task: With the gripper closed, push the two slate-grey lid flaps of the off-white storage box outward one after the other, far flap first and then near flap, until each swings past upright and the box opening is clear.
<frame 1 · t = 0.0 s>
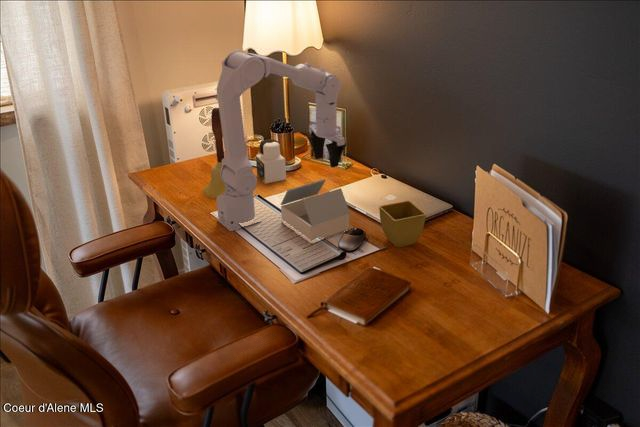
hand: (326, 162, 169), 10 cm above the table, tool pointing down, fingers open, 7 cm apart
handbell: (223, 190, 178), on the table
flower pot: (400, 242, 148), on the table
near flap: (326, 206, 148), point 8 cm above the table, hinge at 55.0°
storage box: (315, 226, 156), on the table
medicine bottle: (271, 178, 185), on the table
far flap: (303, 192, 156), point 8 cm above the table, hinge at 55.0°
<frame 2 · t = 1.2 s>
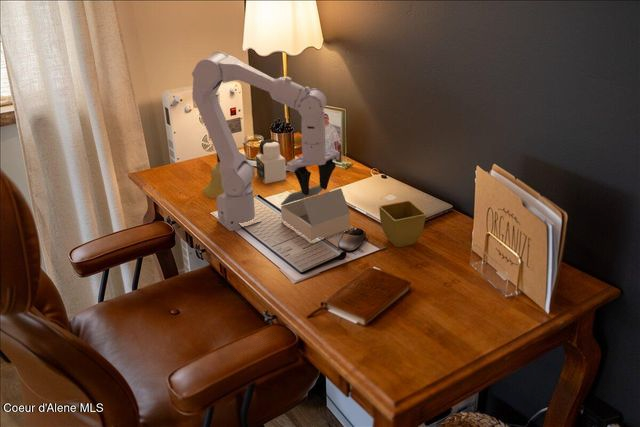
hand: (314, 190, 151), 10 cm above the table, tool pointing down, fingers open, 5 cm apart
far flap: (304, 194, 156), point 8 cm above the table, hinge at 44.4°
everything else where it was.
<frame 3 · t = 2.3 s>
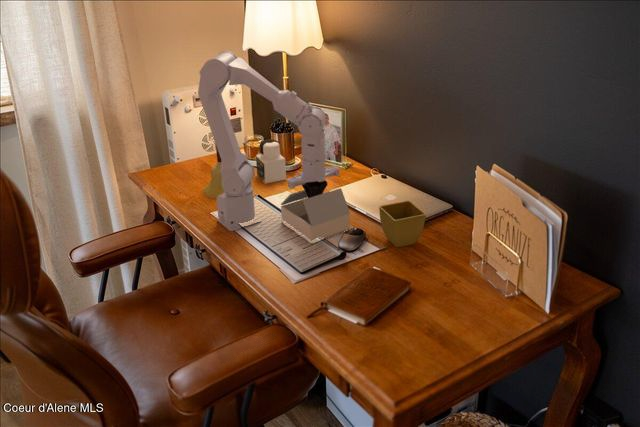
hand: (314, 206, 153), 6 cm above the table, tool pointing down, fingers closed, pressing on far flap
far flap: (304, 194, 156), point 8 cm above the table, hinge at 43.8°, touching gripper
everything else where it was.
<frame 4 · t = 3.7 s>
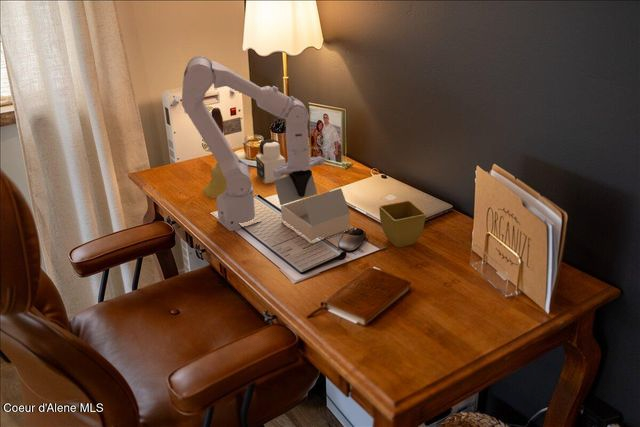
hand: (300, 195, 159), 6 cm above the table, tool pointing down, fingers closed, pressing on far flap
far flap: (295, 187, 159), point 8 cm above the table, hinge at 116.1°, touching gripper
everything else where it was.
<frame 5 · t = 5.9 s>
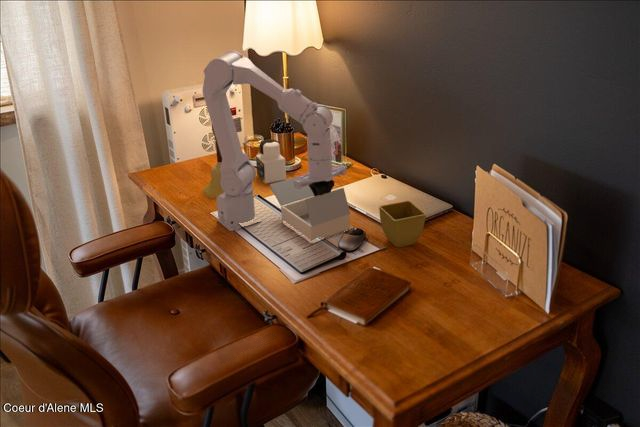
hand: (322, 206, 151), 7 cm above the table, tool pointing down, fingers closed, pressing on near flap
near flap: (327, 206, 148), point 8 cm above the table, hinge at 65.3°, touching gripper
far flap: (293, 189, 160), point 7 cm above the table, hinge at 144.1°
everything else where it was.
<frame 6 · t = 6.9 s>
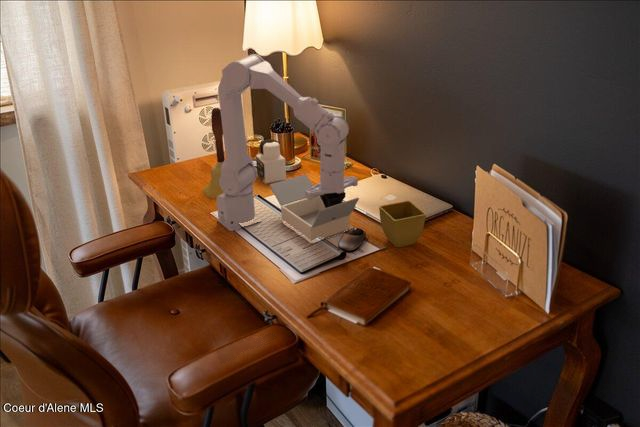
hand: (331, 217, 148), 6 cm above the table, tool pointing down, fingers closed, pressing on near flap
near flap: (335, 212, 146), point 8 cm above the table, hinge at 120.2°, touching gripper
everything else where it was.
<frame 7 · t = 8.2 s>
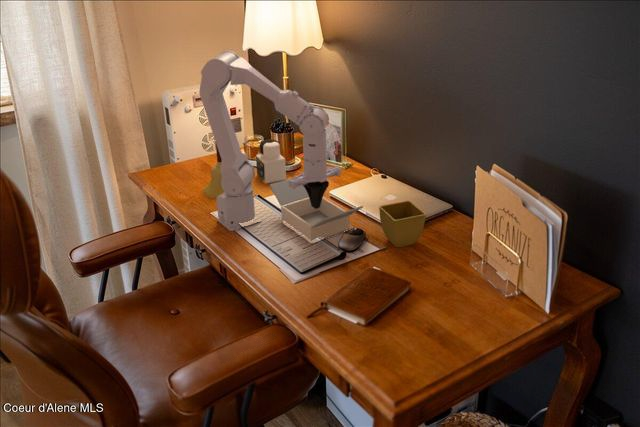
hand: (315, 206, 153), 6 cm above the table, tool pointing down, fingers closed
near flap: (337, 216, 145), point 7 cm above the table, hinge at 139.9°
everything else where it was.
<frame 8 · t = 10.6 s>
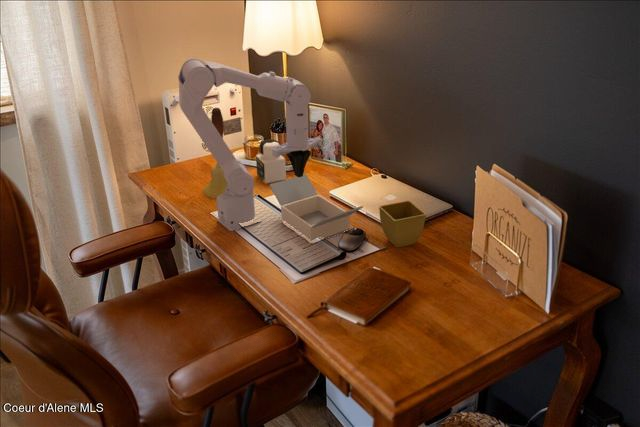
hand: (298, 175, 160), 10 cm above the table, tool pointing down, fingers closed
nothing on the table moved.
at the end: far flap at +144° (first picture: +55°); near flap at +140° (first picture: +55°) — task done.
